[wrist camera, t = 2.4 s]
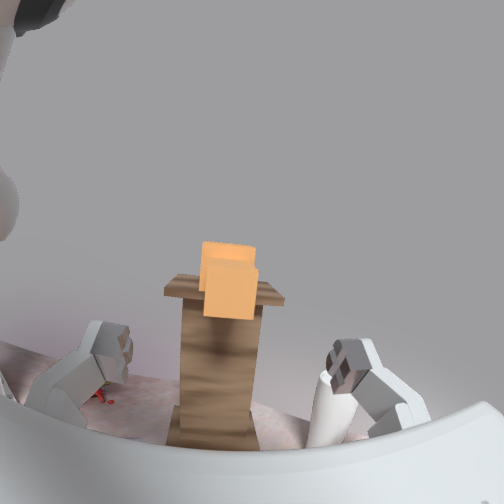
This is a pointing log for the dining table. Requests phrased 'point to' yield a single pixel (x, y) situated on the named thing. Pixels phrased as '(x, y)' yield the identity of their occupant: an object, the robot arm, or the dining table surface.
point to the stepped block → (228, 280)
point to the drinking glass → (330, 414)
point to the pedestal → (216, 372)
